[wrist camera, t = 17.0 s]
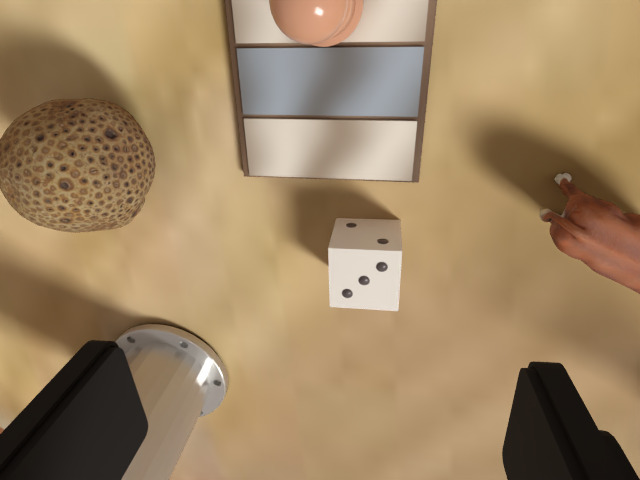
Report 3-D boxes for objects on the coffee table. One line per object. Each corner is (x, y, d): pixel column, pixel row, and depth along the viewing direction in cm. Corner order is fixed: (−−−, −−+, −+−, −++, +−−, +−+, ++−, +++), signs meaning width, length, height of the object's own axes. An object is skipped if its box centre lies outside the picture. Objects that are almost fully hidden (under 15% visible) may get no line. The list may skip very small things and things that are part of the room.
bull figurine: (646, 291, 32) (720, 370, 25) (510, 198, 30) (547, 255, 23) (700, 251, 30) (798, 325, 23) (557, 149, 28) (615, 195, 21)
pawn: (290, 46, 26) (255, 56, 20) (286, -40, 24) (245, -63, 17) (362, 45, 26) (352, 55, 19) (364, -44, 24) (354, -68, 17)
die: (337, 270, 35) (329, 306, 31) (336, 217, 33) (328, 248, 28) (397, 273, 34) (398, 311, 30) (400, 219, 32) (402, 251, 28)
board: (246, 173, 32) (243, 177, 31) (214, -130, 23) (208, -134, 23) (418, 179, 30) (418, 183, 30) (450, -147, 22) (452, -152, 21)
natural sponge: (109, 56, 29) (-10, 73, 21) (204, 148, 32) (134, 199, 23) (52, 141, 33) (-67, 185, 24) (141, 218, 35) (60, 284, 27)
